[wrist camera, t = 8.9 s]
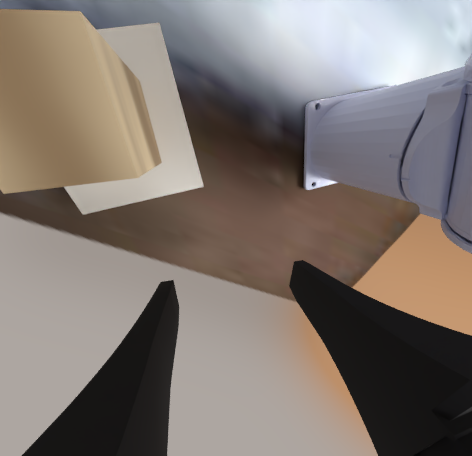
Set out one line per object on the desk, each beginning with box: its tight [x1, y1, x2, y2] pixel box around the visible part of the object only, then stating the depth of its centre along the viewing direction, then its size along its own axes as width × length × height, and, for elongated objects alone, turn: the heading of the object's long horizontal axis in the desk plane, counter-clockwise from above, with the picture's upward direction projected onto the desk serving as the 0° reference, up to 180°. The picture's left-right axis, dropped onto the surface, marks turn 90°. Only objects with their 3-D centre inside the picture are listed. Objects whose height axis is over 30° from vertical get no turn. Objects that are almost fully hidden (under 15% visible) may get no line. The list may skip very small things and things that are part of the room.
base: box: [64, 23, 204, 215], centre depth 12 cm, size 9×9×3 cm
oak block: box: [0, 9, 162, 194], centre depth 8 cm, size 4×4×6 cm
